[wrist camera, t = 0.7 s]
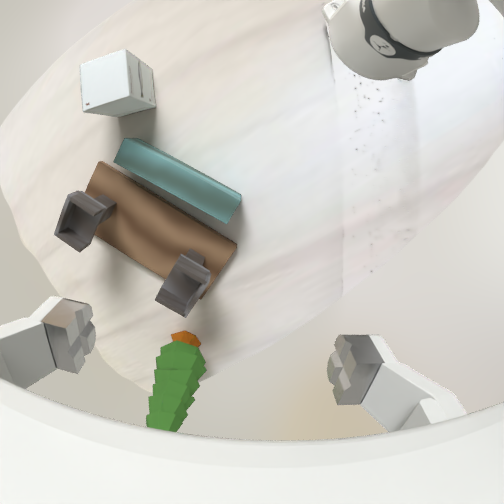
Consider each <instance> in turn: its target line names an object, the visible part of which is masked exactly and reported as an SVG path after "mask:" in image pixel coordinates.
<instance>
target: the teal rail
mask: <svg viewBox="0 0 504 504" xmlns="http://www.w3.org/2000/svg"><path fill="white" fill-rule="evenodd" d="M114 163H116V164H118V165H120V166H121V167H123V168H125V169H127V170H129V171H131V172H133V173H134V174H136V175H138V176H140V177H142V178H144V179H145V180H147V181H149V182H151V183H153V184H155V185H156V186H158V187H160V188H162V189H164V190H166V191H167V192H169V193H171V194H173V195H175V196H177V197H178V198H180V199H182V200H184V201H186V202H187V203H189V204H191V205H193V206H195V207H197V208H198V209H200V210H202V211H204V212H206V213H207V214H209V215H211V216H213V217H215V218H216V219H218V220H220V221H222V222H224V223H225V224H227V223H228V222H229V220H230V218H231V217H232V215H233V213H234V212H235V210H236V208H237V207H238V205H239V203H240V202H241V194H239V193H237V192H236V191H234V190H232V189H230V188H229V187H227V186H225V185H223V184H221V183H220V182H218V181H216V180H214V179H213V178H211V177H209V176H207V175H205V174H203V173H202V172H200V171H198V170H196V169H194V168H193V167H191V166H189V165H187V164H185V163H183V162H181V161H180V160H178V159H176V158H174V157H172V156H170V155H168V154H167V153H165V152H163V151H161V150H159V149H157V148H155V147H153V146H151V145H149V144H147V143H146V142H144V141H142V140H140V139H138V138H124V140H123V142H122V144H121V146H120V149H119V151H118V153H117V155H116V157H115V159H114Z"/></svg>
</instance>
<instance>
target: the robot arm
mask: <svg viewBox="0 0 504 504" xmlns="http://www.w3.org/2000/svg"><path fill="white" fill-rule="evenodd" d="M489 1H490V2H491V3H492V4H493V5H494V6H495V8H496V9H497V10H498V11H499V12H500V13H501V14H502V16H503V17H504V0H489ZM333 7H335V8H336V9H334V8H333ZM322 13H323V15H324V17H325V19H326V21H327V23H328V26H329V37H330V41H331V45H332V47H333V49H334V51H335V53H336V54H337V56H338V57H339V59H340V60H341V61H342V62H343V63H344V64H345V65H346V66H347V67H348V68H350V69H351V70H352V71H354V72H355V73H357V74H359V75H361V76H363V77H366V78H369V79H373V80H388V79H392V78H399V79H403V80H411V79H413V78H414V77H415V75H416V72H417V69H419V68H421V67H424V66H425V65H427V64H428V61H427V60H428V58H429V57H431V56H433V55H435V54H436V53H438V52H439V51H440V50H441V49H442V48H444V47H447V46H450V45H453V44H456V43H459V42H462V41H465V40H467V39H469V38H470V37H471V36H472V35H473V34H474V33H475V32H476V30H477V28H478V25H479V9H478V4H477V0H333V1H332V2H330V3H329V4H327V5H326V6H325V7H323V9H322ZM92 316H93V313H92V307H91V306H90V305H89V304H87V303H82V302H78V301H74V300H70V299H66V298H62V297H57V296H50V297H49V298H48V299H47V300H46V301H45V302H44V303H43V304H42V305H41V306H40V307H39V308H38V309H37V310H36V311H35V312H34V313H33V314H32V315H31V316H30V317H29V318H26V317H24V318H22V319H18V320H15V321H13V322H10V323H7V324H4V325H1V326H0V504H504V402H502V403H499V404H496V405H494V406H491V407H488V408H485V409H482V410H479V411H476V412H473V413H470V414H467V412H466V411H465V409H464V408H463V406H462V405H461V403H460V402H459V400H458V399H457V397H456V396H455V394H454V393H453V392H451V391H450V390H447V389H446V388H444V387H443V386H441V385H439V384H438V383H436V382H434V381H433V380H431V379H429V378H428V377H426V376H424V375H423V374H421V373H419V372H417V371H416V370H414V369H412V368H411V367H409V366H407V365H406V364H404V363H399V362H398V361H397V359H396V358H395V356H394V354H393V353H392V351H391V349H390V348H389V346H388V345H387V343H386V342H385V340H384V339H383V337H382V336H381V335H378V334H377V335H339V336H338V337H337V339H336V341H335V344H334V345H335V348H336V351H335V352H333V353H332V354H331V355H330V358H329V361H328V367H327V373H328V378H329V381H330V382H331V383H332V384H333V385H335V387H334V389H333V394H334V396H335V399H336V402H337V405H356V404H361V406H362V407H363V408H364V409H365V410H366V411H367V412H368V413H369V414H370V415H371V416H372V417H373V418H374V419H376V421H378V422H379V423H380V424H381V425H382V426H383V427H384V428H385V429H386V430H387V431H388V433H381V434H374V435H367V436H359V437H350V438H338V439H324V440H299V441H269V440H268V441H267V440H243V439H229V438H218V437H207V436H199V435H191V434H184V433H178V432H171V431H166V430H160V429H155V428H149V427H144V426H140V425H135V424H130V423H126V422H122V421H118V420H114V419H110V418H107V417H103V416H99V415H96V414H92V413H89V412H85V411H83V410H79V409H76V408H73V407H70V406H67V405H64V404H62V403H59V402H56V401H53V400H50V399H48V398H45V397H42V396H40V395H38V394H35V393H33V392H30V391H28V390H26V388H27V387H29V386H31V385H32V384H34V383H36V382H37V381H39V380H40V379H42V378H43V377H45V376H47V375H48V374H50V373H51V372H53V371H55V370H56V368H58V369H61V370H65V371H68V372H72V373H76V374H78V373H79V371H80V369H81V368H82V366H83V364H84V362H85V358H84V356H85V355H87V354H89V353H91V351H92V349H93V347H94V343H95V337H96V332H95V327H94V325H93V324H92V323H91V321H90V319H91V318H92Z"/></svg>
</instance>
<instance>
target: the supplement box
mask: <svg viewBox="0 0 504 504" xmlns="http://www.w3.org/2000/svg"><path fill="white" fill-rule="evenodd" d="M80 82H81V96H82V108H83V112H85V113H93V114H100V115H107V116H113V117H121V116H124V115H128V114H132V113H135V112H139V111H143V110H147V109H151V108H155V107H156V103H155V96H154V88H153V77H152V69H151V68H150V67H149V66H148V65H146V64H145V63H144V62H142V61H141V60H140V59H139V58H137V57H136V56H135V55H133V54H132V53H130V52H129V51H128V50H126V49H123V50H120V51H117V52H114V53H111V54H108V55H105V56H102V57H99V58H97V59H94V60H91V61H88V62H86V63H83V64H81V65H80Z"/></svg>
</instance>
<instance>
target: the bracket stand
mask: <svg viewBox="0 0 504 504" xmlns="http://www.w3.org/2000/svg"><path fill="white" fill-rule="evenodd" d="M94 234H95V235H96V236H98V237H99V238H101V239H102V240H104V241H105V242H107V243H108V244H110V245H112V246H113V247H115V248H116V249H118V250H119V251H121V252H122V253H124V254H126V255H127V256H129V257H130V258H132V259H134V260H135V261H137V262H138V263H140V264H142V265H143V266H145V267H147V268H148V269H150V270H151V271H153V272H155V273H156V274H158V275H160V276H161V277H163V278H165V279H166V280H165V282H164V283H163V285H162V287H161V289H160V291H159V293H158V295H157V297H156V298H155V301H157V302H159V303H160V304H162V305H164V306H166V307H167V308H169V309H171V310H173V311H174V312H176V313H178V314H180V315H182V316H183V317H185V318H186V317H187V315H188V314H189V312H190V311H191V309H192V308H193V306H194V305H195V303H196V302H197V300H198V299H202V298H203V296H204V295H205V293H206V292H207V290H208V289H209V287H210V286H211V284H212V283H213V281H214V280H215V278H216V277H217V275H218V274H219V273H220V271H221V270H222V268H223V267H224V265H225V264H226V262H227V261H228V259H229V258H230V256H231V255H232V254H233V252H234V251H235V249H236V248H237V244H236V243H234V242H233V241H231V240H230V239H228V238H226V237H225V236H223V235H221V234H220V233H218V232H217V231H215V230H213V229H212V228H210V227H208V226H207V225H205V224H204V223H202V222H200V221H199V220H197V219H196V218H194V217H192V216H191V215H189V214H187V213H186V212H184V211H183V210H181V209H179V208H178V207H176V206H174V205H173V204H171V203H170V202H168V201H166V200H165V199H163V198H161V197H160V196H158V195H157V194H155V193H153V192H152V191H150V190H148V189H147V188H145V187H144V186H142V185H140V184H139V183H137V182H136V181H134V180H132V179H131V178H129V177H127V176H126V175H124V174H123V173H121V172H119V171H118V170H116V169H114V168H113V167H111V166H110V165H108V164H106V163H105V162H103V161H100V162H98V164H97V166H96V168H95V171H94V173H93V175H92V177H91V179H90V182H89V184H88V186H87V189H86V191H85V193H84V192H83V191H76V192H73V193H71V194H68V196H67V198H66V201H65V204H64V206H63V209H62V212H61V215H60V218H59V221H58V224H57V227H56V230H55V233H54V235H55V236H57V237H58V238H60V239H61V240H62V241H64V242H65V243H67V244H68V245H69V246H71V247H72V248H74V249H75V250H77V251H78V252H81V251H82V250H83V249H85V248H86V247H87V246H89V245H90V244H91V241H92V239H93V236H94Z"/></svg>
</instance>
